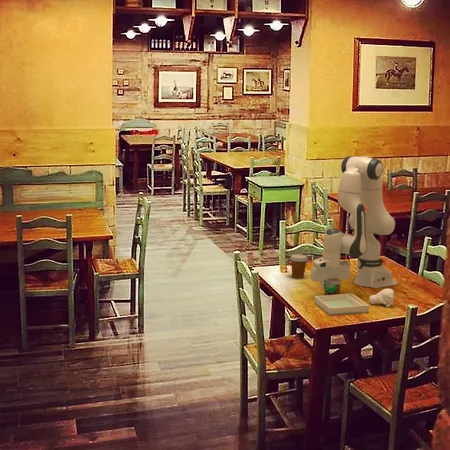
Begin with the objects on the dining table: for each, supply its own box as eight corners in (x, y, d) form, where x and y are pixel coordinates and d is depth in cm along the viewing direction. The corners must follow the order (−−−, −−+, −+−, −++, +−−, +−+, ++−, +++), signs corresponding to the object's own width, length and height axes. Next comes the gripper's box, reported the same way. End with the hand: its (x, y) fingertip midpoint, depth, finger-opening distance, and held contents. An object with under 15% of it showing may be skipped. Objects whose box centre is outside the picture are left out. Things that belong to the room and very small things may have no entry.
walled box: (351, 300, 345) (352, 293, 345) (368, 312, 328) (369, 305, 328) (314, 303, 340) (314, 296, 339) (329, 315, 323) (330, 308, 322)
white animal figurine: (393, 291, 333) (368, 290, 336) (394, 308, 335) (368, 307, 338) (394, 287, 339) (369, 286, 342) (394, 304, 341) (369, 303, 344)
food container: (317, 293, 354) (318, 275, 352) (327, 292, 357) (328, 273, 354) (330, 301, 343) (330, 281, 341) (340, 299, 346) (341, 280, 343)
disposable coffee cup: (310, 278, 381) (311, 257, 378) (296, 280, 376) (297, 259, 373) (299, 273, 389) (299, 253, 386) (285, 276, 383) (286, 255, 381)
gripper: (347, 258, 352) (346, 284, 355) (310, 261, 346) (308, 287, 349) (353, 262, 346) (351, 288, 349) (315, 264, 340) (313, 291, 343)
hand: (329, 288), depth 349 cm, fingers open, 6 cm apart
